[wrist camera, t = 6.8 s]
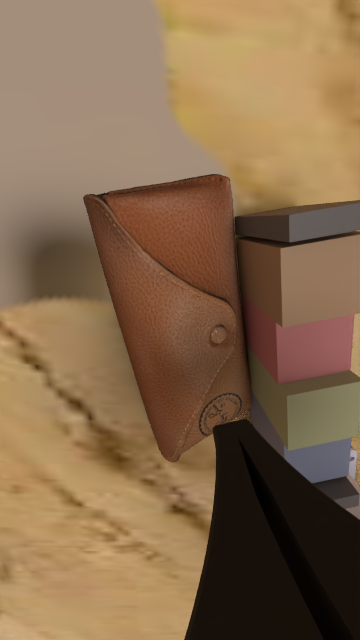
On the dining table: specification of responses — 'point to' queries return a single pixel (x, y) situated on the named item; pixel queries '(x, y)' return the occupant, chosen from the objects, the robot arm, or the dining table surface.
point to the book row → (304, 336)
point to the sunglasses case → (177, 302)
